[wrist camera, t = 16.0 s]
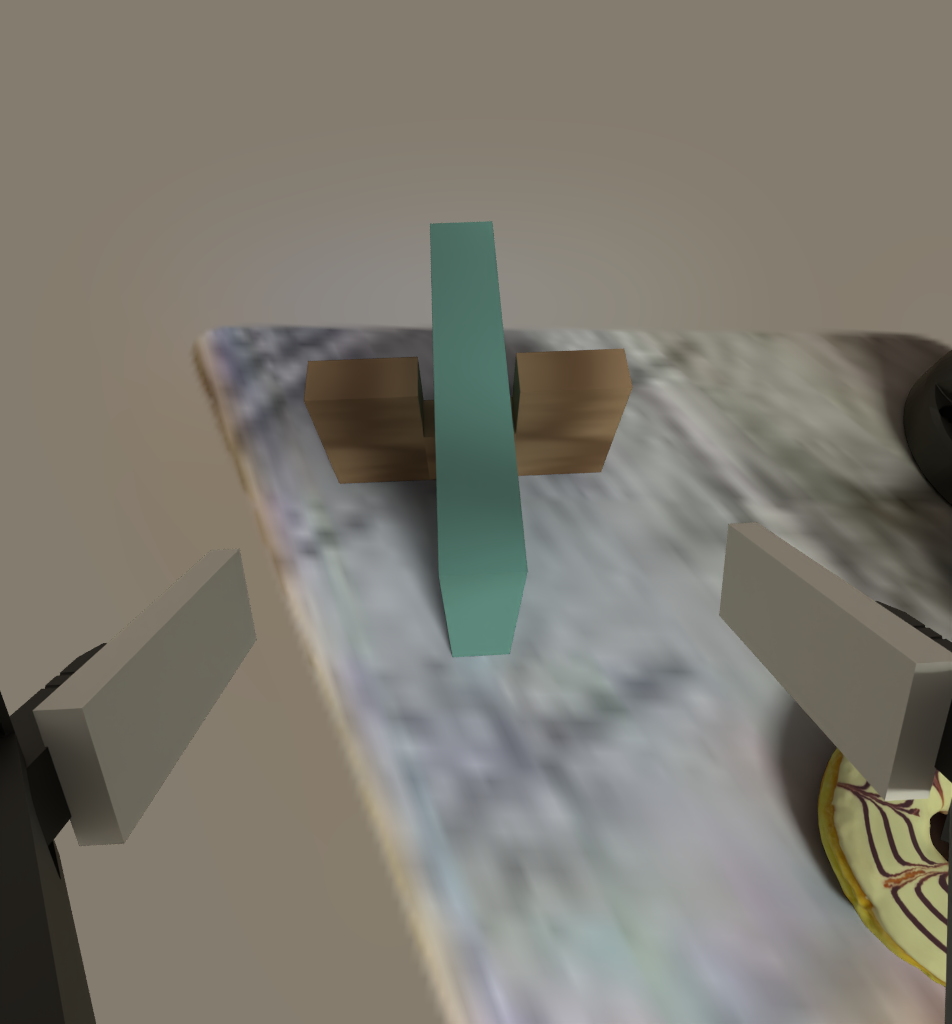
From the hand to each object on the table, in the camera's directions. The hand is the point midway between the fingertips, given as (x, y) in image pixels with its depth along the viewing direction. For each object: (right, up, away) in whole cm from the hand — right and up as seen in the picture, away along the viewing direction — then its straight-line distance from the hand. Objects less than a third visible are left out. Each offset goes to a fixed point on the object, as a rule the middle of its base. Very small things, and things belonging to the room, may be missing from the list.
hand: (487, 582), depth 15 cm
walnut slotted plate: (-1, +5, +20) cm, 21 cm away
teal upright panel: (-1, +2, +19) cm, 19 cm away
